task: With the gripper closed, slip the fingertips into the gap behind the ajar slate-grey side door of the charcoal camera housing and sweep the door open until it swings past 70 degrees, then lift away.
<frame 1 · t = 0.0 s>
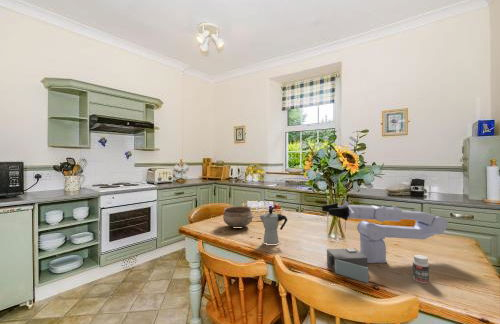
hand: (325, 209, 104), 22 cm above the table, tool horizontal, fingers open, 7 cm apart
coffee maker: (273, 243, 127), on the table
camera housing: (346, 266, 98), on the table
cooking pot: (237, 227, 157), on the table
side door: (350, 270, 88), point 3 cm above the table, hinge at 45.0°
pill bottle: (420, 280, 86), on the table
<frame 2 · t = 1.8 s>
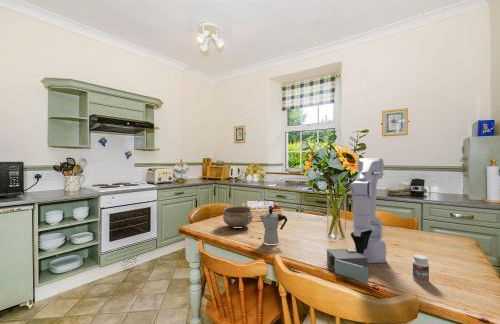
hand: (361, 251, 89), 9 cm above the table, tool pointing down, fingers open, 5 cm apart
nothing on the table moved.
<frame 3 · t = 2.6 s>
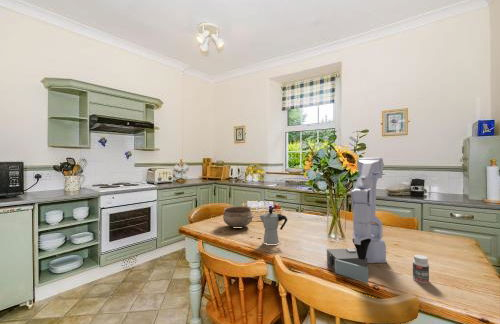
hand: (361, 258, 89), 7 cm above the table, tool pointing down, fingers closed
nothing on the table moved.
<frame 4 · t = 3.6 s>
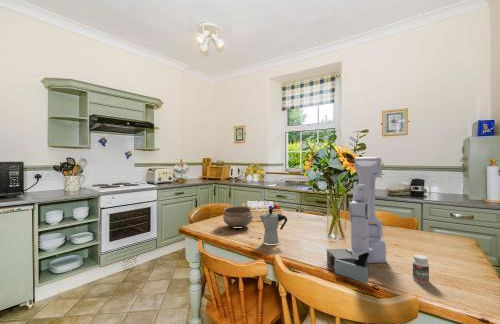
hand: (360, 272, 87), 2 cm above the table, tool pointing down, fingers closed, pressing on side door
side door: (350, 270, 88), point 3 cm above the table, hinge at 46.2°, touching gripper
everything else where it was.
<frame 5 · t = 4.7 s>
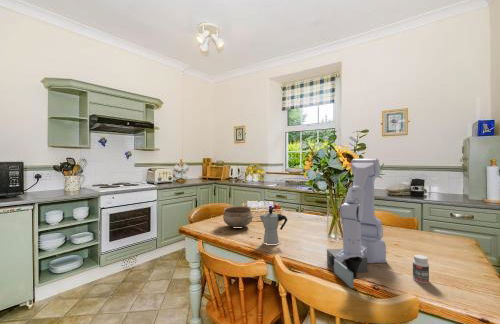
hand: (352, 277, 84), 2 cm above the table, tool pointing down, fingers closed
side door: (343, 272, 87), point 3 cm above the table, hinge at 84.5°, touching gripper
everything else where it was.
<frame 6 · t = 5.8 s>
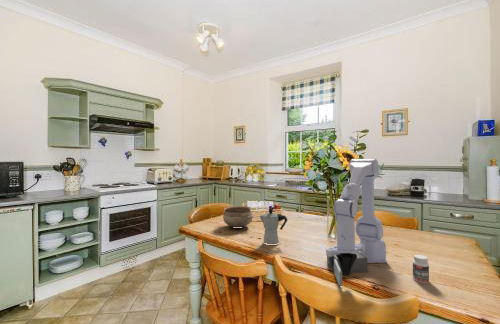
hand: (346, 274, 83), 4 cm above the table, tool pointing down, fingers closed
side door: (337, 272, 87), point 3 cm above the table, hinge at 103.5°
everything else where it was.
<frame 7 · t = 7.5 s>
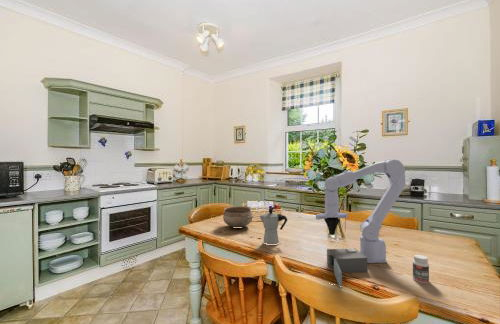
hand: (331, 234, 110), 9 cm above the table, tool pointing down, fingers closed
nothing on the table moved.
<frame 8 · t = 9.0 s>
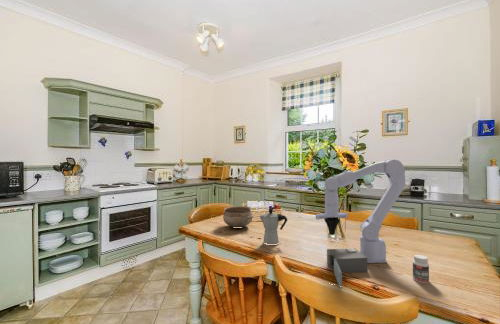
hand: (331, 234, 110), 9 cm above the table, tool pointing down, fingers closed
nothing on the table moved.
at the end: side door at +104° (first picture: +45°); pill bottle moved 0.2 cm from its start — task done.
